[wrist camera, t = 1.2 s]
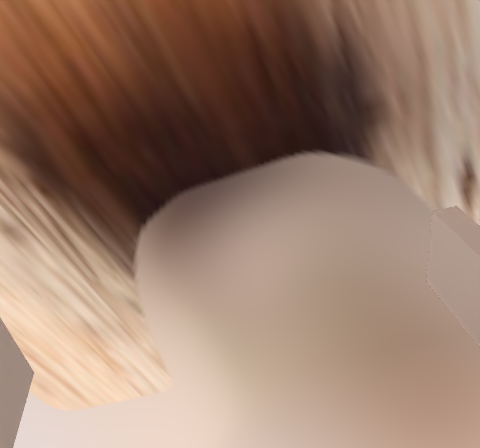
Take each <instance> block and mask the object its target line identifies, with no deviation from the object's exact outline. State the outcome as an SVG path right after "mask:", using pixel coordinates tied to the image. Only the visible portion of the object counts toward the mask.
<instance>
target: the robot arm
mask: <svg viewBox="0 0 480 448" xmlns="http://www.w3.org/2000/svg"><path fill="white" fill-rule="evenodd" d="M426 282H427V283H428V284H429V285H430V287H431V288H432V289H433V290H434V291H435V293H436V294H437V295H438V296H439V298H440V299H441V300H442V301H443V302H444V303H445V305H446V306H447V307H448V309H449V310H450V311H451V312H452V313H453V315H454V316H455V317H456V318H457V320H458V321H459V322H460V323H461V325H462V326H463V327H464V328H465V329H466V331H467V332H468V333H469V334H470V336H471V337H472V338H473V339H474V340H475V342H476V343H477V344H478V345H479V347H480V226H479V225H478V224H477V223H475V222H474V221H473V220H472V219H471V218H470V217H468V216H467V215H466V214H465V213H464V212H463V211H461V210H460V209H459V208H458V207H457V206H455V207H450V208H446V209H441V210H437V211H432V219H431V230H430V241H429V252H428V264H427V274H426ZM33 375H34V372H33V370H32V368H31V367H30V365H29V363H28V362H27V360H26V359H25V357H24V355H23V354H22V352H21V350H20V349H19V347H18V346H17V344H16V342H15V341H14V339H13V337H12V336H11V334H10V333H9V331H8V329H7V328H6V326H5V324H4V323H3V321H2V320H1V318H0V448H13V446H14V442H15V439H16V435H17V431H18V428H19V424H20V421H21V417H22V414H23V410H24V406H25V403H26V399H27V396H28V392H29V389H30V385H31V382H32V378H33Z"/></svg>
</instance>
